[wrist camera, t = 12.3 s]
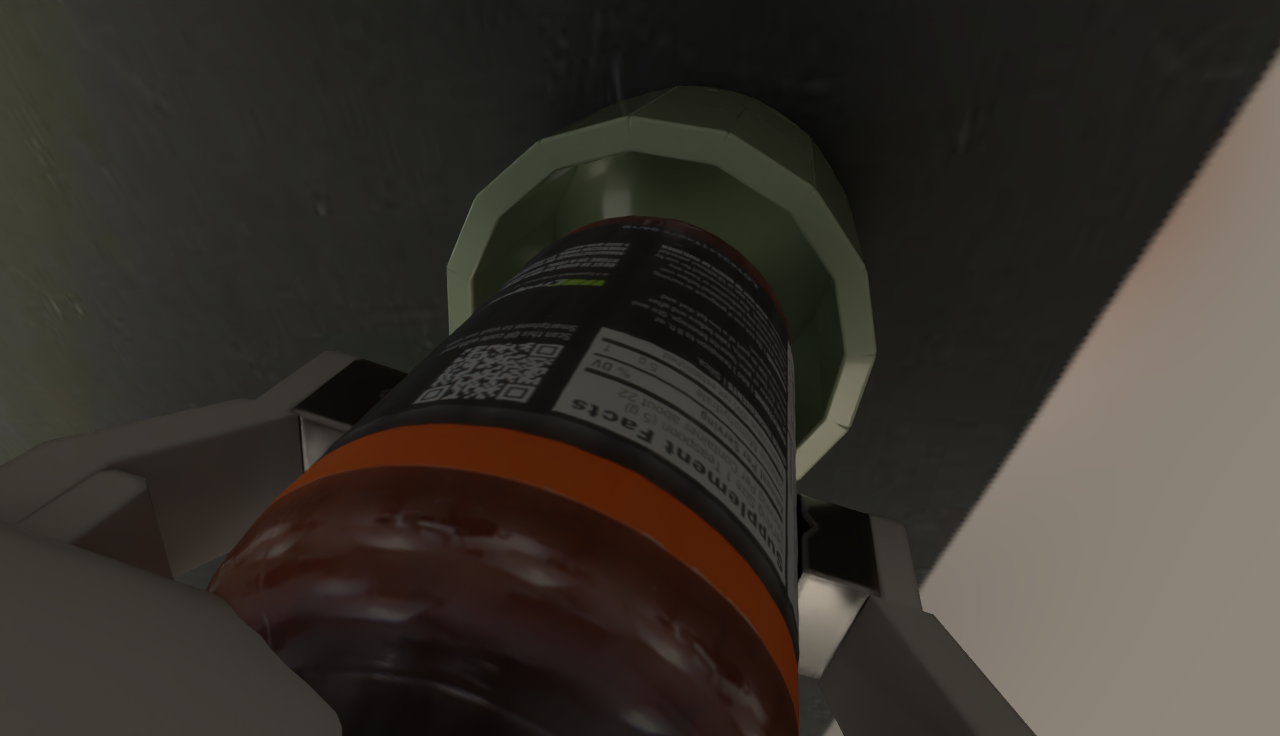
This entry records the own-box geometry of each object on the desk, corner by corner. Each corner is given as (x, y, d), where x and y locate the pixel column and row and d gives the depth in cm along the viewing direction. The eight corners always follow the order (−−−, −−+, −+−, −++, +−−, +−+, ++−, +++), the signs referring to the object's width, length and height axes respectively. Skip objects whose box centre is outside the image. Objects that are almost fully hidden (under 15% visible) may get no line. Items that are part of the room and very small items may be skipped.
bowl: (911, 295, 17) (959, 414, 12) (660, 428, 21) (616, 560, 16) (730, 4, 15) (695, 0, 10) (485, 214, 19) (368, 289, 14)
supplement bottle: (631, 496, 15) (356, 1300, 6) (463, 309, 14) (-296, 983, 4) (855, 385, 13) (1035, 1535, 3) (679, 137, 11) (-60, 910, 2)
